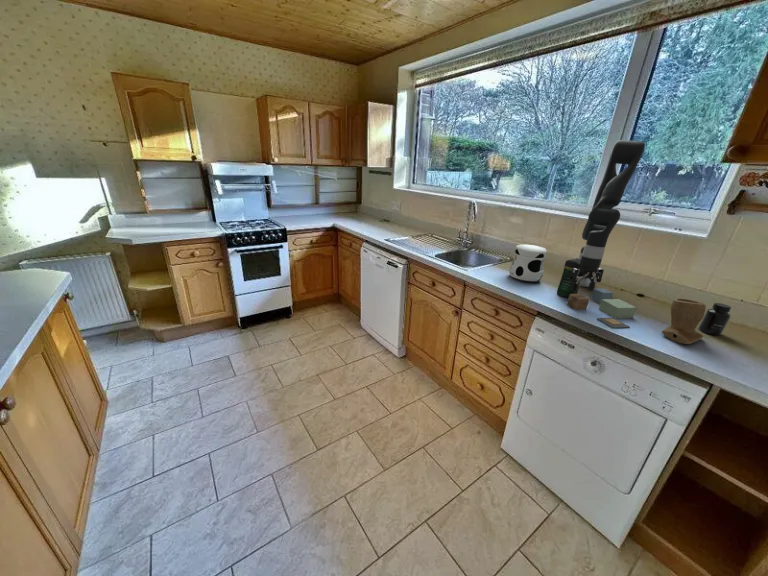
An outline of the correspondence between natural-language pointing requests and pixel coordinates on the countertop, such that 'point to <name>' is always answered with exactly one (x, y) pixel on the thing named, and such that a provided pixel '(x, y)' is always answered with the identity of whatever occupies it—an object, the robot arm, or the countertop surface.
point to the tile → (613, 322)
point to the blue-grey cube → (601, 294)
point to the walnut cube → (578, 301)
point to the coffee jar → (565, 284)
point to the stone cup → (685, 320)
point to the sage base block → (617, 308)
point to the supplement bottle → (715, 319)
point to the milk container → (528, 263)
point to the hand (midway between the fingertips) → (581, 290)
